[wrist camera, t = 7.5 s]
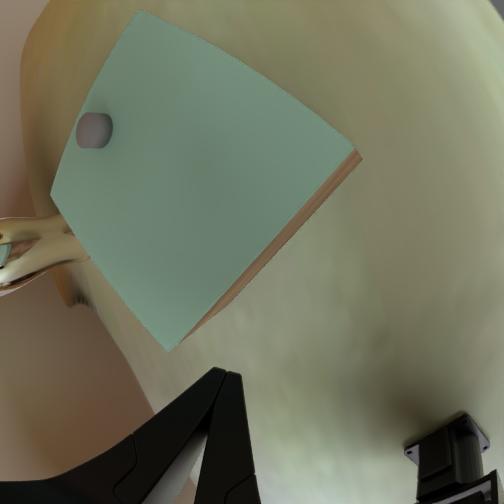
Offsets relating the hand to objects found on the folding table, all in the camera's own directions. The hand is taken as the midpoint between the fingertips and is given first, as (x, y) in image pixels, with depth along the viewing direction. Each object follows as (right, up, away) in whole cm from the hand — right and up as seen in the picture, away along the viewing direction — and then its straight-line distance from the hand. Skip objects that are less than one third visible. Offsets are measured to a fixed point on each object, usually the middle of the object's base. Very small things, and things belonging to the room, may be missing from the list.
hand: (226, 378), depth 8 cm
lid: (-4, +8, +6) cm, 11 cm away
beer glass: (-18, +6, +20) cm, 28 cm away
